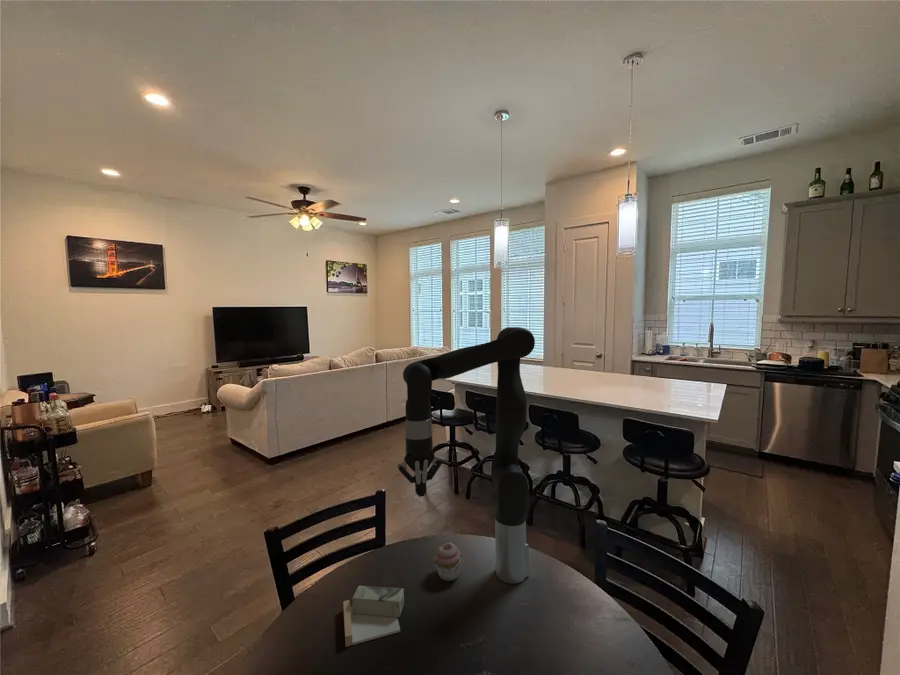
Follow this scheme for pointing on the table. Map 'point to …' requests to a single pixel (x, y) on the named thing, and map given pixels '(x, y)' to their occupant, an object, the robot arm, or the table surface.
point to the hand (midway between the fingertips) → (420, 495)
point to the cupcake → (448, 562)
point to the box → (378, 601)
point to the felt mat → (366, 626)
